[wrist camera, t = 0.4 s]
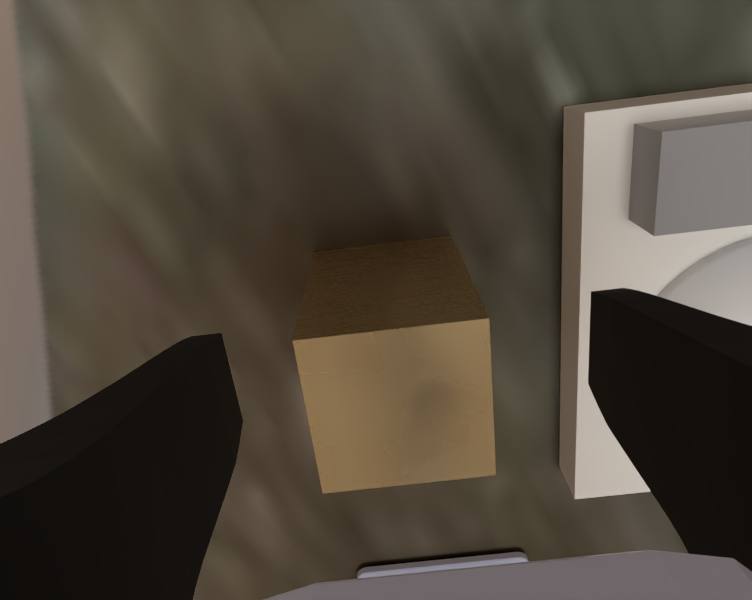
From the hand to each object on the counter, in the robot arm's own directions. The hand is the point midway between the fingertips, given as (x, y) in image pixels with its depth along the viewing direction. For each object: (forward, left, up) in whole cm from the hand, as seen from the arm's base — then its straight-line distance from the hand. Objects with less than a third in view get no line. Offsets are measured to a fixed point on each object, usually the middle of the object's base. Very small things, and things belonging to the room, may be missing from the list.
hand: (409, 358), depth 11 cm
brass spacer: (-3, 0, -10) cm, 11 cm away
